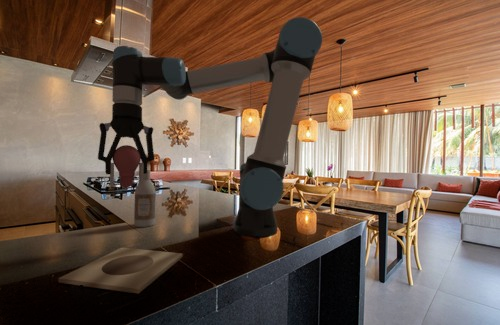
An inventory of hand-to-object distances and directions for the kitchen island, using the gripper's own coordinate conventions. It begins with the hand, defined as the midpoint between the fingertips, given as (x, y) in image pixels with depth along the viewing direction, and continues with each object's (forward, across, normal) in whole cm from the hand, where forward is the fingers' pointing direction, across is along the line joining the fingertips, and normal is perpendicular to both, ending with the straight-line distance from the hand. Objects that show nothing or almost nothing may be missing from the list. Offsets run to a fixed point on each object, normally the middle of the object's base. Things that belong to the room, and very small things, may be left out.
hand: (126, 185), depth 69 cm
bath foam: (+16, -8, -17) cm, 25 cm away
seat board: (+16, +2, +18) cm, 24 cm away
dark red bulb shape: (+1, 0, 0) cm, 1 cm away
